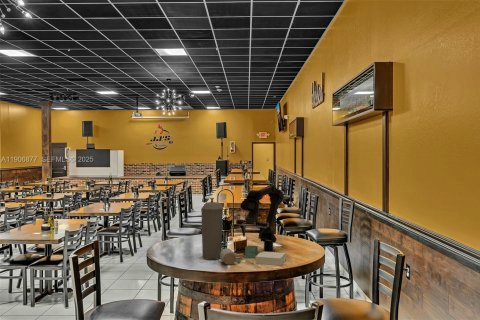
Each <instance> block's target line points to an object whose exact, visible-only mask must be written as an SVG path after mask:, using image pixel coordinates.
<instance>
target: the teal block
mask: <svg viewBox="0 0 480 320" xmlns="http://www.w3.org/2000/svg"><path fill="white" fill-rule="evenodd" d="M258 248H259V246H258V245H247V246H245V247H244V258H247V259H255V256H257V255H258V254H259V252H258V250H259V249H258Z"/></svg>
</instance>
